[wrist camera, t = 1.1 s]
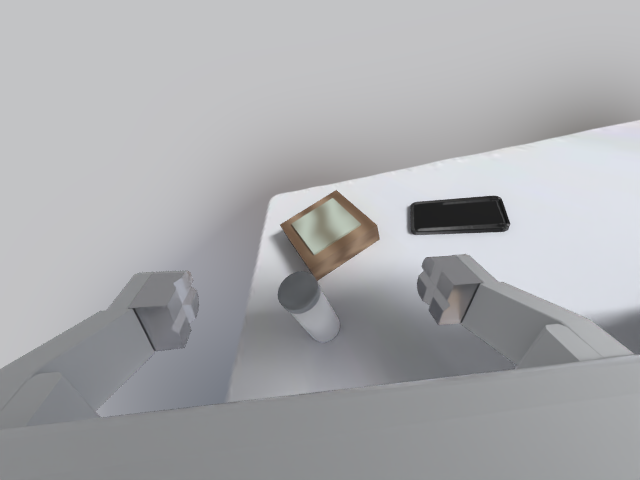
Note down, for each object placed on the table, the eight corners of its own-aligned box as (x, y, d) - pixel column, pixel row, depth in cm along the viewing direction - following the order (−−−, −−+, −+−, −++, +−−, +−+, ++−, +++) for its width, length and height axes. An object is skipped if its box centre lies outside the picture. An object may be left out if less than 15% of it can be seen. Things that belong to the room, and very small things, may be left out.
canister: (330, 304, 42) (306, 264, 33) (347, 329, 38) (325, 292, 30) (303, 322, 41) (272, 286, 33) (318, 350, 38) (287, 318, 29)
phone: (511, 228, 40) (411, 232, 45) (509, 232, 41) (411, 236, 46) (500, 194, 45) (410, 201, 50) (498, 199, 46) (410, 206, 51)
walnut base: (340, 203, 57) (335, 188, 54) (379, 239, 47) (376, 223, 44) (287, 237, 55) (279, 223, 52) (317, 280, 46) (309, 267, 42)
